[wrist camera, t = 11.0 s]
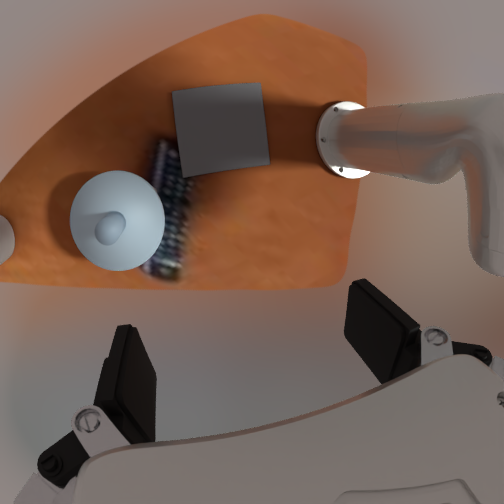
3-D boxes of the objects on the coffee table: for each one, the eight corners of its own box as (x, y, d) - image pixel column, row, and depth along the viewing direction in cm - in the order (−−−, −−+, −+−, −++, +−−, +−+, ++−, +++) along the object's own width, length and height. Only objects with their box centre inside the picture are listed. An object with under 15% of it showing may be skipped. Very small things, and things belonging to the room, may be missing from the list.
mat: (259, 83, 32) (260, 82, 32) (268, 164, 37) (270, 164, 36) (171, 92, 30) (171, 91, 29) (183, 177, 34) (183, 177, 34)
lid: (155, 160, 28) (151, 161, 24) (173, 257, 33) (173, 274, 28) (63, 184, 26) (46, 190, 21) (87, 275, 30) (76, 293, 26)
